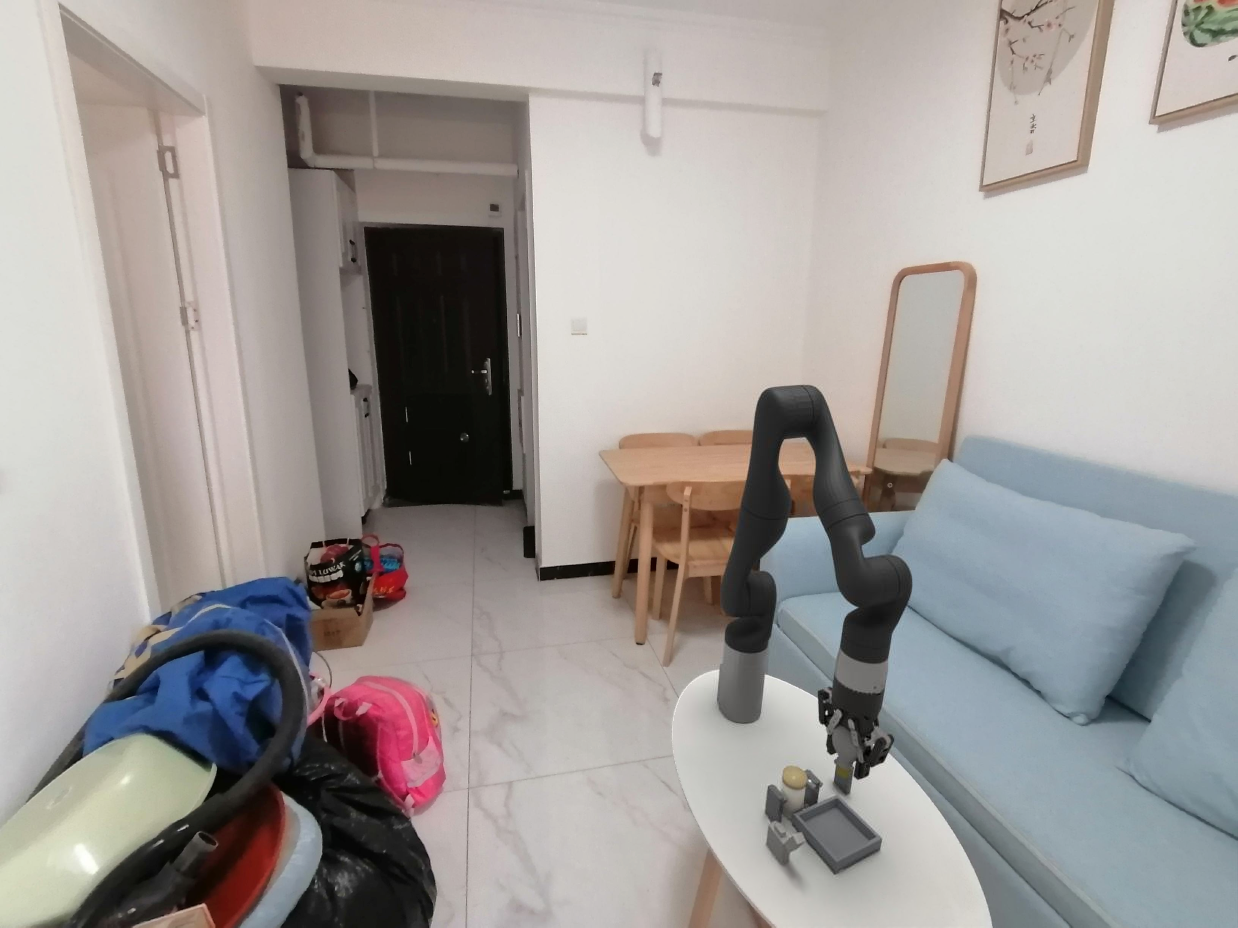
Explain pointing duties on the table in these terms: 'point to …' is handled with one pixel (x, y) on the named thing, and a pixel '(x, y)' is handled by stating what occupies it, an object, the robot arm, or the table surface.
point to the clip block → (813, 785)
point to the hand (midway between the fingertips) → (846, 764)
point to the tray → (836, 833)
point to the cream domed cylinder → (793, 790)
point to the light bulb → (844, 750)
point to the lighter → (782, 841)
